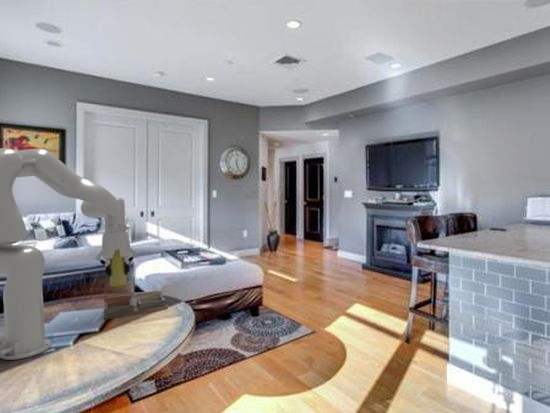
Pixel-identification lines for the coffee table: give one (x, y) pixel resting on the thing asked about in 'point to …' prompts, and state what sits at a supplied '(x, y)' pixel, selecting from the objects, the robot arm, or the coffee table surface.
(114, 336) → the coffee table surface
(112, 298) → the socket board
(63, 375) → the coffee table surface
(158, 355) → the coffee table surface
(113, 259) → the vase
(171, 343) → the coffee table surface
